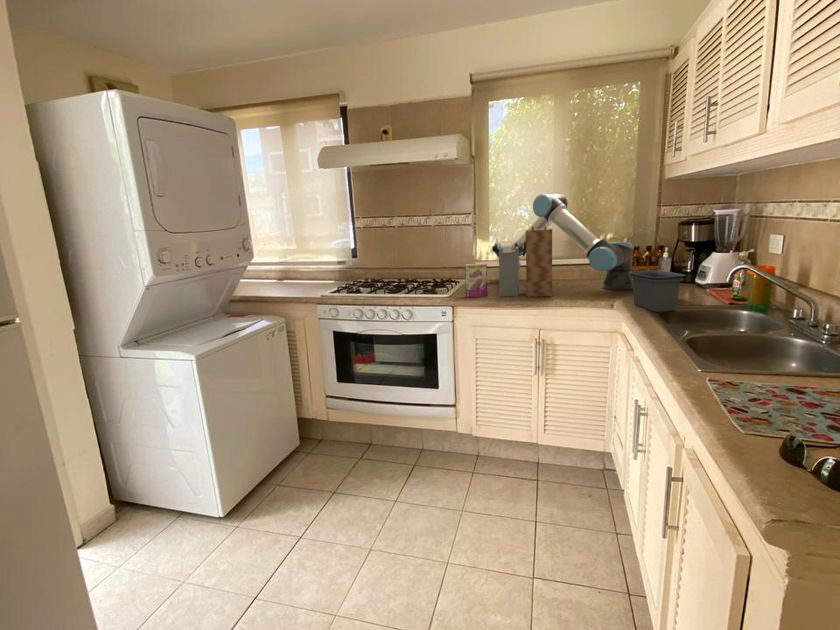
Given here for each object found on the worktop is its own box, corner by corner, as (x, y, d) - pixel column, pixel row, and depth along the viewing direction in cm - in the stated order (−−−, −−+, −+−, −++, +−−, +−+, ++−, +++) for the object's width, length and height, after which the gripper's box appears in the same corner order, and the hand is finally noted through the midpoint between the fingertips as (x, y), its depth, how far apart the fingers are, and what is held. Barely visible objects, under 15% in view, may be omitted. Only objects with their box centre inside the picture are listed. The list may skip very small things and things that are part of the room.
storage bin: (624, 304, 196) (625, 270, 193) (658, 301, 197) (660, 268, 194) (653, 314, 175) (655, 277, 172) (691, 311, 176) (694, 274, 173)
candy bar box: (465, 297, 231) (464, 265, 227) (465, 295, 236) (464, 264, 232) (488, 296, 230) (487, 264, 226) (487, 295, 235) (486, 263, 231)
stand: (551, 292, 232) (552, 225, 224) (551, 296, 220) (552, 226, 213) (527, 292, 235) (526, 226, 227) (526, 296, 224) (525, 227, 216)
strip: (514, 248, 240) (514, 242, 240) (511, 252, 220) (511, 246, 219) (507, 248, 241) (506, 243, 241) (503, 252, 221) (502, 246, 220)
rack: (519, 291, 239) (518, 246, 234) (517, 295, 227) (517, 248, 222) (501, 291, 241) (501, 247, 236) (499, 296, 230) (498, 249, 225)
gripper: (535, 263, 250) (534, 247, 230) (490, 265, 256) (485, 248, 236) (535, 251, 252) (534, 233, 232) (490, 252, 258) (486, 235, 238)
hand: (509, 241), depth 234 cm, fingers open, 12 cm apart
